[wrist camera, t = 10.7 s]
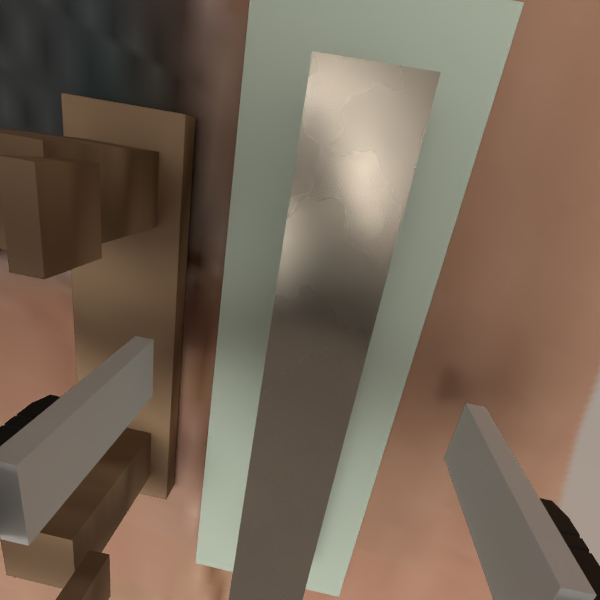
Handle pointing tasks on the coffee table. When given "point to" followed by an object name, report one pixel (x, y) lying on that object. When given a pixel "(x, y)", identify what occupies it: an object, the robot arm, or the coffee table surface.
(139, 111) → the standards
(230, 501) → the mat
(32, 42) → the coffee table surface
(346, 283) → the rail
